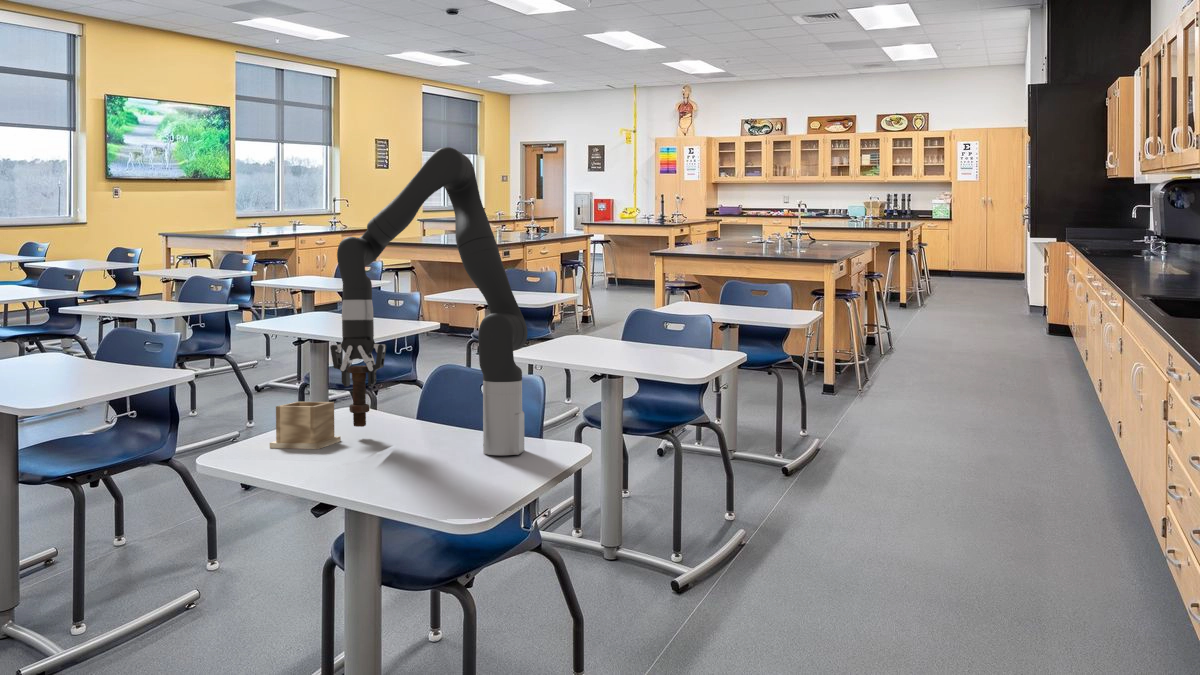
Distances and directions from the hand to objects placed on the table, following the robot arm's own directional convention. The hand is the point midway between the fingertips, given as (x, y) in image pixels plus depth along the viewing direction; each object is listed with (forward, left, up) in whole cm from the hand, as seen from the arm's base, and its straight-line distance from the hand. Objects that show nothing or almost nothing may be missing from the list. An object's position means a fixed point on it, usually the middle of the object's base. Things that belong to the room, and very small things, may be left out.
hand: (358, 385), depth 215 cm
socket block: (+9, +10, -13) cm, 19 cm away
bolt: (0, 0, -10) cm, 10 cm away
